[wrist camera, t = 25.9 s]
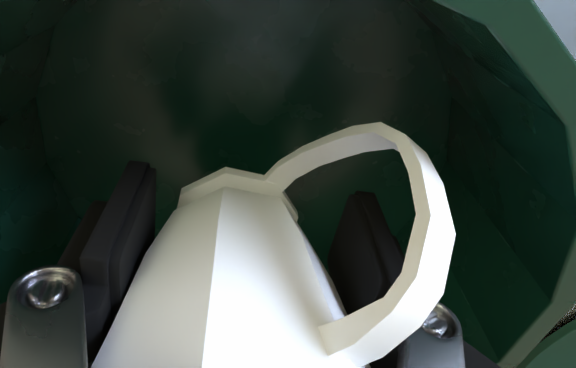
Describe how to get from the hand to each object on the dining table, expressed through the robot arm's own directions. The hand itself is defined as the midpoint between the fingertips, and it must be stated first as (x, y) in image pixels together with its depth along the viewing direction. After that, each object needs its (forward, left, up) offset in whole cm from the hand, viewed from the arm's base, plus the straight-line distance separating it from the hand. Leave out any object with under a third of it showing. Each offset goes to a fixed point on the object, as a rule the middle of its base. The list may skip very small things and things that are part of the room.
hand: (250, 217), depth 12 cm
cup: (0, 0, -1) cm, 2 cm away
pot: (0, 0, -4) cm, 4 cm away
